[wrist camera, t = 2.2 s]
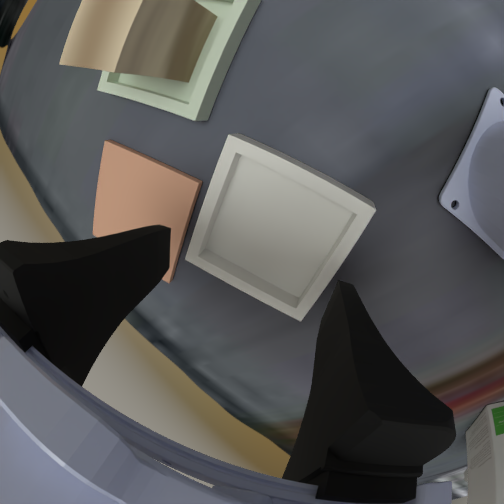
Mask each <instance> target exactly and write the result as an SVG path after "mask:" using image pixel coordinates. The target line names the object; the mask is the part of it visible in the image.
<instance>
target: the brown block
mask: <svg viewBox="0 0 504 504" xmlns="http://www.w3.org/2000/svg"><path fill="white" fill-rule="evenodd" d="M217 17H218V16H216V15H215V14H213V13H212V12H211V11H209V10H208V9H206V8H205V7H203V6H202V5H200V4H199V3H197V2H196V1H194V0H82V2H81V5H80V7H79V9H78V12H77V14H76V16H75V19H74V22H73V24H72V27H71V29H70V32H69V35H68V38H67V41H66V44H65V47H64V50H63V53H62V56H61V60H60V63H59V64H60V65H69V66H77V67H84V68H91V69H97V70H103V71H107V72H113V73H124V74H134V75H143V76H151V77H158V78H165V79H171V80H177V81H182V82H188V83H189V81H190V78H191V76H192V73H193V71H194V68H195V66H196V63H197V61H198V58H199V56H200V54H201V51H202V49H203V47H204V45H205V42H206V40H207V38H208V36H209V34H210V31H211V29H212V27H213V25H214V23H215V21H216V19H217Z"/></svg>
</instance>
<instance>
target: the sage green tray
mask: <svg viewBox="0 0 504 504" xmlns="http://www.w3.org/2000/svg"><path fill="white" fill-rule="evenodd" d="M194 1H196V2H197V3H199V4H200V5H202V6H203V7H205V8H206V9H208V10H209V11H211V12H212V13H213V14H215V15H216V16H218V17H217V19H216V21H215V23H214V25H213V27H212V29H211V31H210V34H209V36H208V38H207V40H206V42H205V45H204V47H203V49H202V51H201V54H200V56H199V58H198V61H197V63H196V66H195V68H194V71H193V73H192V76H191V78H190V81H189V83H188V82H182V81H177V80H171V79H165V78H158V77H151V76H143V75H134V74H124V73H113V72H107V71H103V72H102V75H101V79H100V82H99V86H98V89H97V90H98V91H102V92H106V93H110V94H114V95H117V96H121V97H124V98H128V99H131V100H135V101H138V102H141V103H144V104H147V105H151V106H154V107H157V108H160V109H163V110H166V111H169V112H172V113H174V114H177V115H180V116H183V117H186V118H188V119H191V120H194V121H208V118H209V116H210V113H211V110H212V108H213V105H214V103H215V100H216V98H217V95H218V93H219V90H220V88H221V85H222V83H223V81H224V78H225V76H226V74H227V71H228V69H229V67H230V64H231V62H232V60H233V58H234V55H235V53H236V51H237V49H238V47H239V44H240V42H241V40H242V38H243V36H244V34H245V32H246V30H247V28H248V26H249V24H250V22H251V20H252V18H253V16H254V14H255V12H256V10H257V8H258V6H259V4H260V2H261V0H194Z"/></svg>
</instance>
